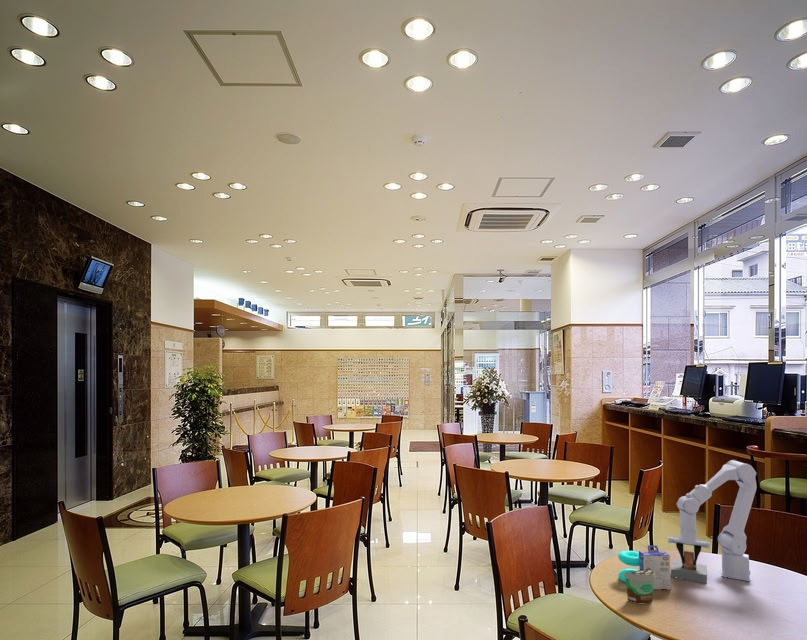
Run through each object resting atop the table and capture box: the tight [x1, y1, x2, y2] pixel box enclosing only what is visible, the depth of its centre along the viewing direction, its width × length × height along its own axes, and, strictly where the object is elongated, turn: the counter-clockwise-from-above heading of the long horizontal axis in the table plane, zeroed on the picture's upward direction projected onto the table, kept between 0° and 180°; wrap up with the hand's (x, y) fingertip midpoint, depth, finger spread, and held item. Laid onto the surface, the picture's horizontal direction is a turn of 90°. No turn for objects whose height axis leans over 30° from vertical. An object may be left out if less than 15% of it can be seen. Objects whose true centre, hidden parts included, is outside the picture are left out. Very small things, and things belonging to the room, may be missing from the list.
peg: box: [684, 549, 694, 570], centre depth 222 cm, size 4×4×8 cm
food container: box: [624, 567, 656, 604], centre depth 196 cm, size 12×6×10 cm, turn 117°
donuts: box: [617, 550, 641, 583], centre depth 215 cm, size 10×10×10 cm
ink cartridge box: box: [638, 544, 672, 591], centre depth 209 cm, size 10×6×14 cm, turn 87°
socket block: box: [670, 559, 708, 584], centre depth 221 cm, size 12×12×3 cm
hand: (689, 564), depth 222 cm, fingers closed on peg, 3 cm apart
